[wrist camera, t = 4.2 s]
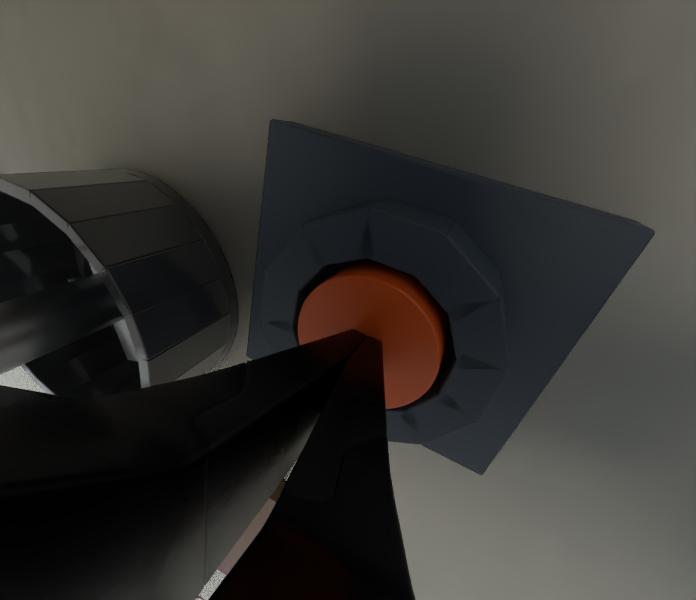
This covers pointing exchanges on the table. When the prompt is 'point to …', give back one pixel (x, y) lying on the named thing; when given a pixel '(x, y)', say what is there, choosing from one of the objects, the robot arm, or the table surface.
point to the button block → (439, 273)
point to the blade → (58, 319)
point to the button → (382, 323)
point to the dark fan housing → (118, 276)
